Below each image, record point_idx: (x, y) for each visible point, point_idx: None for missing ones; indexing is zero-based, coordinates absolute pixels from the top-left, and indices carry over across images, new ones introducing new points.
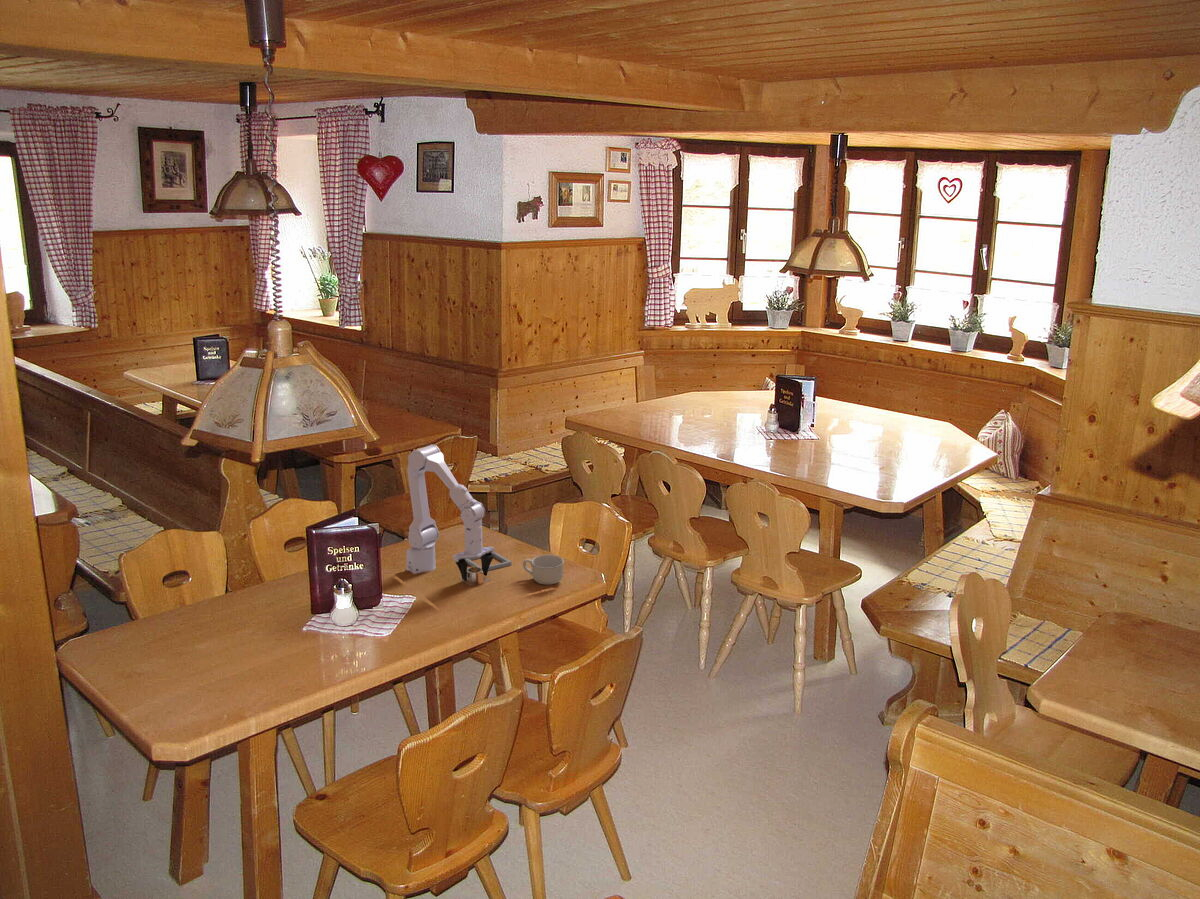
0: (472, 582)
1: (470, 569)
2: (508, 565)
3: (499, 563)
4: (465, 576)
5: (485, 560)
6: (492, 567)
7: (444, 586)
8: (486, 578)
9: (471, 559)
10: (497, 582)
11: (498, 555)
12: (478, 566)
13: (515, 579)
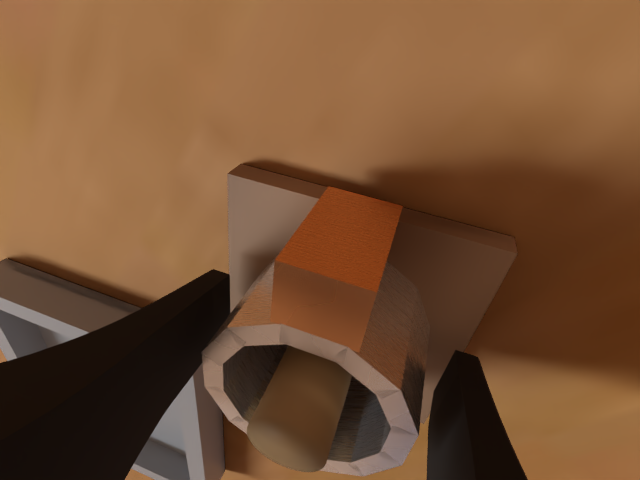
0: (413, 288)
1: None
2: (9, 275)
3: (44, 325)
4: (486, 402)
5: (78, 436)
6: None
7: (626, 440)
8: (237, 247)
9: (176, 461)
10: (182, 123)
11: None
12: (190, 405)
13: (5, 43)
